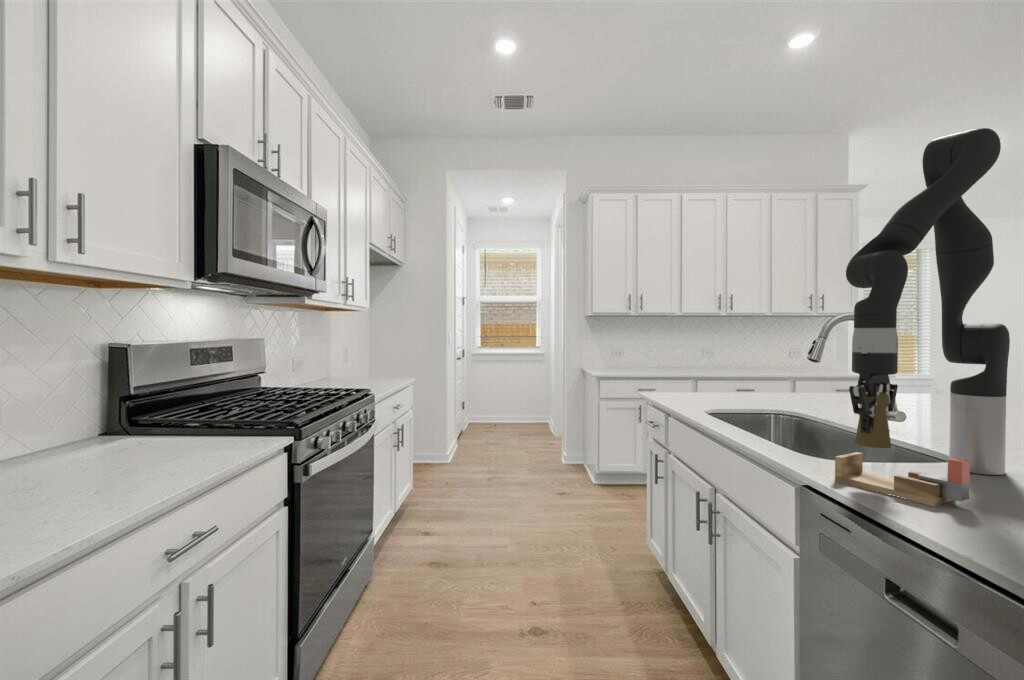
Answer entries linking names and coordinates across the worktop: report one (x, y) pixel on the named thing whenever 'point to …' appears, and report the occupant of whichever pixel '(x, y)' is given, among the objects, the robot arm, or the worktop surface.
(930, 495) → the light brown wooden holder
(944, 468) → the worktop surface
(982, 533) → the worktop surface
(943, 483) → the red grey l-shaped block
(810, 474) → the worktop surface
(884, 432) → the olive rounded piece
